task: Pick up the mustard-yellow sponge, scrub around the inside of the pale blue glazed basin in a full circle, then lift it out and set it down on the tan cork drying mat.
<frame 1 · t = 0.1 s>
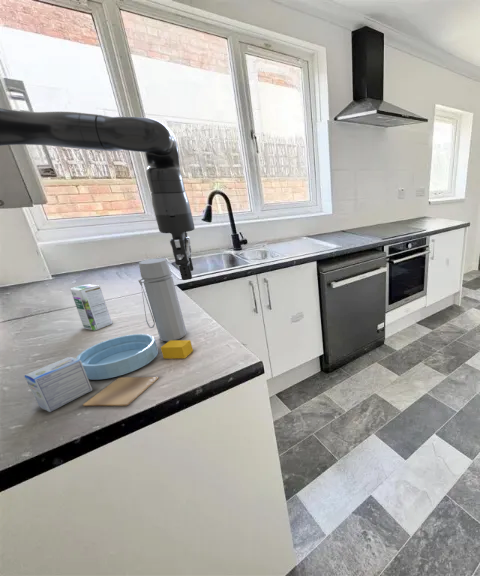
hand: (188, 275, 81), 24 cm above the countertop, tool pointing down, fingers open, 8 cm apart
basin: (122, 363, 84), on the countertop
water bottle: (170, 338, 98), on the countertop
sponge: (178, 354, 88), on the countertop
medicine box: (67, 399, 71), on the countertop
syrup box: (99, 326, 106), on the countertop
drying mat: (123, 391, 73), on the countertop
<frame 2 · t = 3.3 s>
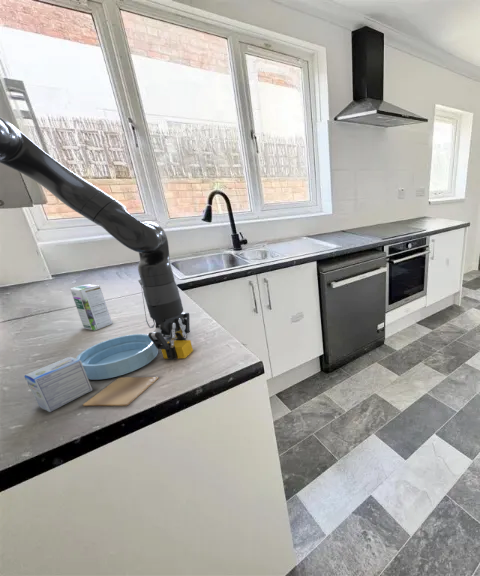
hand: (178, 354, 88), 0 cm above the countertop, tool pointing down, fingers closed on sponge, 4 cm apart
sponge: (178, 354, 88), on the countertop, touching gripper
everything else where it was.
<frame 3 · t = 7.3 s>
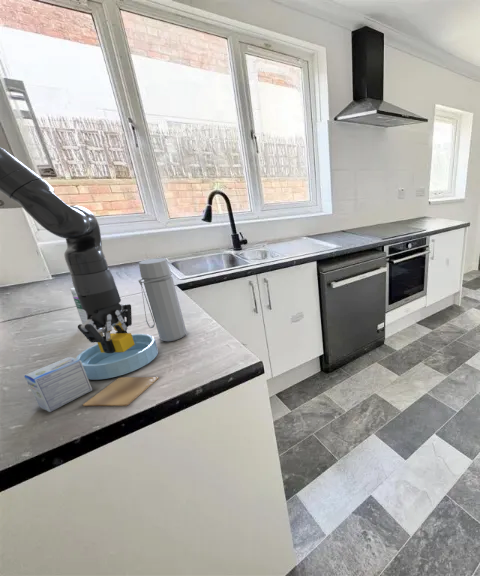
hand: (117, 347, 83), 5 cm above the countertop, tool pointing down, fingers closed on sponge, 4 cm apart
sponge: (118, 348, 83), point 4 cm above the countertop, touching gripper
everything else where it was.
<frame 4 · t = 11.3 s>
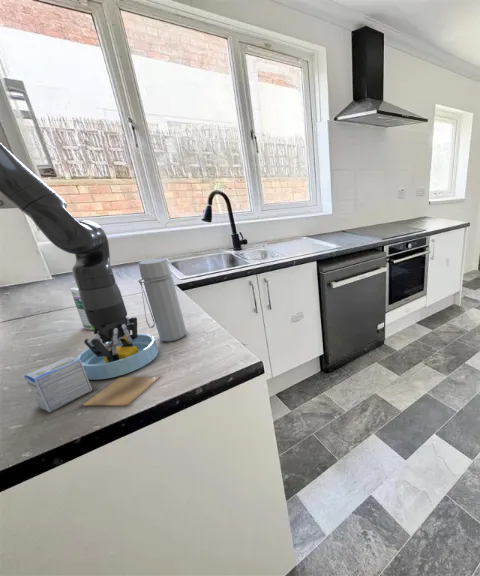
hand: (123, 361, 83), 1 cm above the countertop, tool pointing down, fingers closed on sponge, 4 cm apart
sponge: (123, 362, 83), point 1 cm above the countertop, touching gripper
everything else where it was.
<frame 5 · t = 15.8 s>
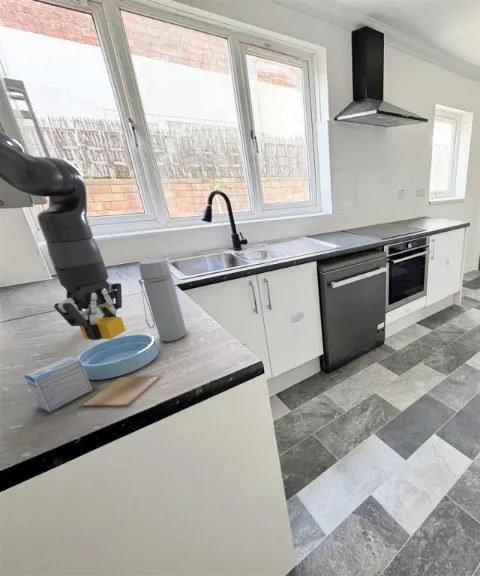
hand: (105, 333, 70), 14 cm above the countertop, tool pointing down, fingers closed on sponge, 4 cm apart
sponge: (105, 335, 70), point 14 cm above the countertop, touching gripper
everything else where it was.
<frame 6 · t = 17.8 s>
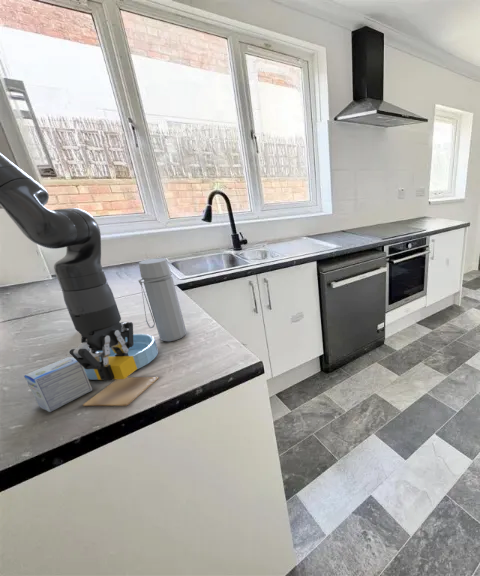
hand: (117, 373, 71), 5 cm above the countertop, tool pointing down, fingers closed on sponge, 4 cm apart
sponge: (118, 374, 71), point 5 cm above the countertop, touching gripper
everything else where it was.
when the fingers open (1 cm above the countertop, at t = 19.3 s): sponge stays where it is, resting on drying mat.
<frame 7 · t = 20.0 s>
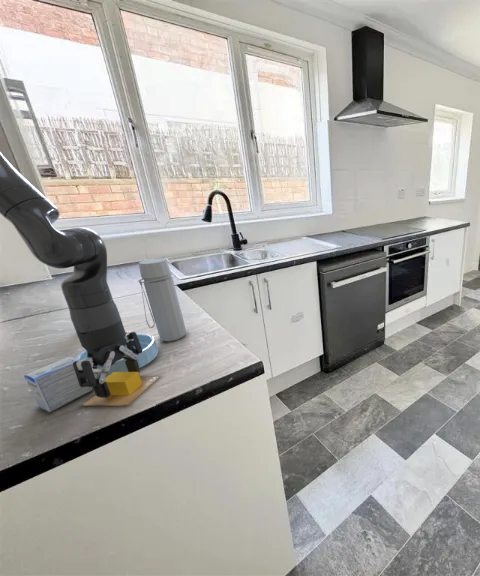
hand: (120, 384, 72), 2 cm above the countertop, tool pointing down, fingers open, 8 cm apart
sponge: (123, 389, 73), resting on drying mat
everything else where it was.
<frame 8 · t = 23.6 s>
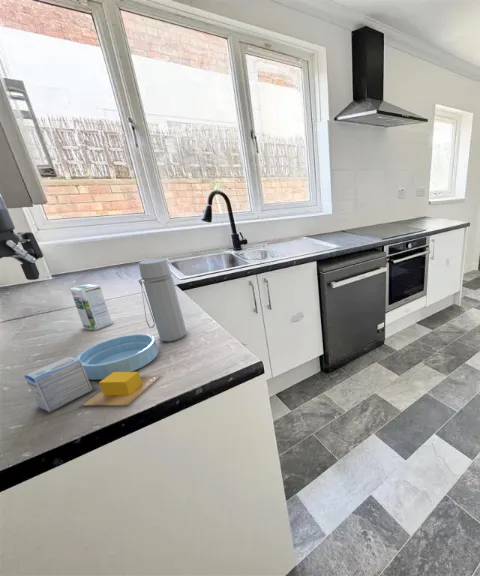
hand: (11, 285, 66), 26 cm above the countertop, tool pointing down, fingers open, 8 cm apart
nothing on the countertop moved.
at the end: sponge inside the target area (0.1 cm from its centre), resting on drying mat; the gripper is holding nothing; sponge tilted 0° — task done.
